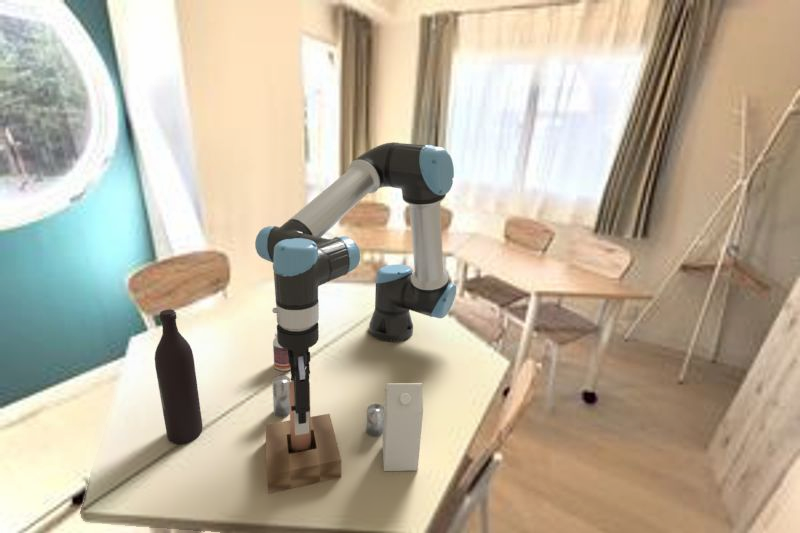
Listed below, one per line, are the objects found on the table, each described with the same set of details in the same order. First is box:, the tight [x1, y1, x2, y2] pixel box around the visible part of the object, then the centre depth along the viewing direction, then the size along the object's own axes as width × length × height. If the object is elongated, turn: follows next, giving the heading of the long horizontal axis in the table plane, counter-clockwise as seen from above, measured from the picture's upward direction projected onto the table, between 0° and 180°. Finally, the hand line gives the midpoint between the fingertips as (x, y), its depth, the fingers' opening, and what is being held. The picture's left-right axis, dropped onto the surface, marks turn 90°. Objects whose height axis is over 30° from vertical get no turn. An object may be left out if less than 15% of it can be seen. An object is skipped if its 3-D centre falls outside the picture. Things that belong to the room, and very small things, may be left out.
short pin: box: [365, 403, 384, 438], centre depth 95 cm, size 4×4×6 cm
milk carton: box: [381, 382, 424, 472], centre depth 85 cm, size 7×7×19 cm
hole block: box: [264, 413, 342, 494], centre depth 86 cm, size 14×14×4 cm
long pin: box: [289, 380, 312, 453], centre depth 83 cm, size 4×4×15 cm
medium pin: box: [271, 375, 291, 418], centre depth 98 cm, size 4×4×9 cm
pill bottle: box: [272, 329, 291, 372], centre depth 117 cm, size 6×6×11 cm
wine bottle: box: [154, 308, 204, 445], centre depth 87 cm, size 7×7×30 cm
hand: (300, 424), depth 84 cm, fingers closed on long pin, 4 cm apart
